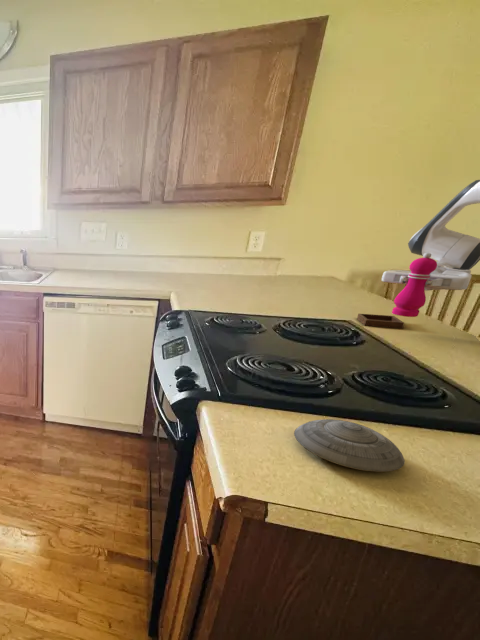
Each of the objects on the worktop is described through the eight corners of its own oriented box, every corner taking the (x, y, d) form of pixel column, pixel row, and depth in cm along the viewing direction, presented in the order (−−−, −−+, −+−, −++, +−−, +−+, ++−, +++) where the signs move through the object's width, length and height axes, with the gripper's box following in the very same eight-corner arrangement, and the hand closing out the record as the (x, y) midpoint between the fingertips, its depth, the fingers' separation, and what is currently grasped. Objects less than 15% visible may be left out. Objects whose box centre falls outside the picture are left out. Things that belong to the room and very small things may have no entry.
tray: (392, 321, 144) (393, 315, 144) (402, 328, 136) (404, 322, 135) (356, 318, 149) (358, 313, 148) (364, 325, 141) (366, 319, 140)
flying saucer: (325, 423, 79) (332, 399, 77) (422, 465, 66) (433, 437, 64) (273, 440, 74) (279, 415, 73) (366, 488, 61) (377, 458, 59)
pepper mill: (410, 318, 127) (435, 254, 119) (384, 312, 133) (406, 252, 125) (425, 316, 128) (450, 253, 121) (399, 310, 135) (421, 250, 127)
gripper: (392, 264, 140) (377, 268, 133) (478, 270, 124) (466, 275, 117) (387, 282, 142) (372, 287, 136) (470, 290, 126) (458, 296, 119)
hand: (416, 281), depth 126 cm, fingers closed on pepper mill, 5 cm apart
